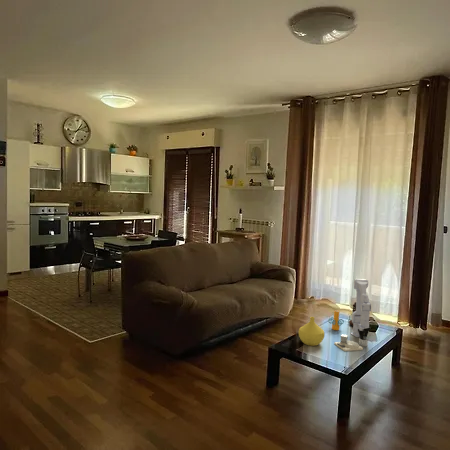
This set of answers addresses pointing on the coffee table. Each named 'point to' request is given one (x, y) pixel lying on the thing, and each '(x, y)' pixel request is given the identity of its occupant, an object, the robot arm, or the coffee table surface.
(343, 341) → the block
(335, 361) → the coffee table surface
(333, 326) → the orange toy figure
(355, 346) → the scale
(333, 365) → the coffee table surface
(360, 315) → the scroll
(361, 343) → the block
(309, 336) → the vase
